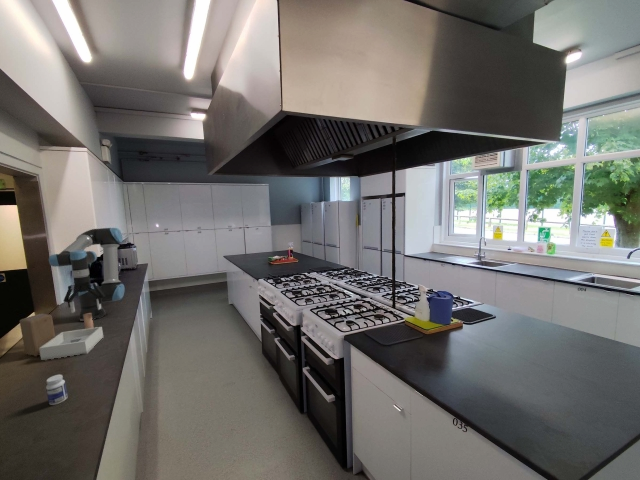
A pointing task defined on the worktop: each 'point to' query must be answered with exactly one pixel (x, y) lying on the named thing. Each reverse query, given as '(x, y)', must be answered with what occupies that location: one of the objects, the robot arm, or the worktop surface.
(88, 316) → the peg
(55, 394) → the pill bottle
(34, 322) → the wooden block
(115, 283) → the robot arm
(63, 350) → the tub
